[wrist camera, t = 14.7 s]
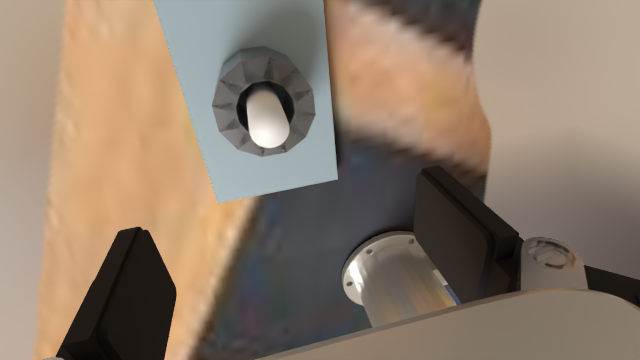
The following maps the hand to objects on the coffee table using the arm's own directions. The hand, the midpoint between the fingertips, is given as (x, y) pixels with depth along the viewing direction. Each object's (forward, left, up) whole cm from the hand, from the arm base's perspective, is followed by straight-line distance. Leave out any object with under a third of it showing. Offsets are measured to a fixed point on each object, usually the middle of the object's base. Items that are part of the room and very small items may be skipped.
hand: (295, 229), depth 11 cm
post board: (0, 0, -20) cm, 20 cm away
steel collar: (0, 0, -19) cm, 19 cm away
